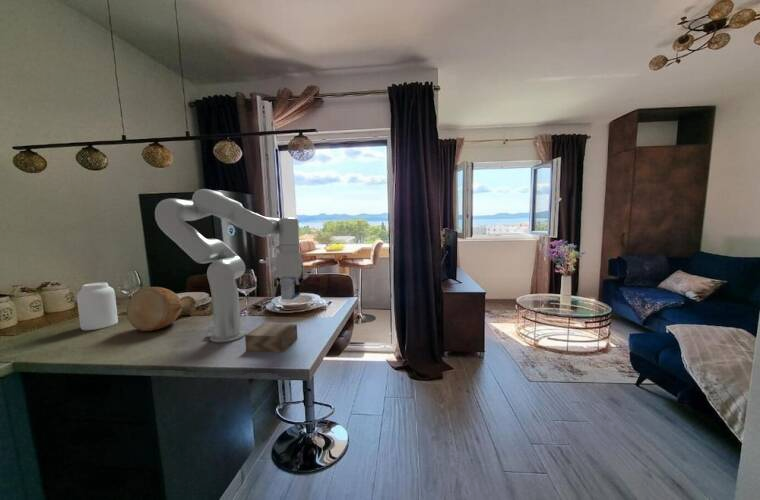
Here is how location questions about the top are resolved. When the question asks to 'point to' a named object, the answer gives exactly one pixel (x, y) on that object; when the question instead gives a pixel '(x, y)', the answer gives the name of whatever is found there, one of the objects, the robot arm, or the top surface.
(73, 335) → the top surface
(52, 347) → the top surface
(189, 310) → the jug
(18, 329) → the top surface
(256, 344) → the walnut block
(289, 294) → the medicine box
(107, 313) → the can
